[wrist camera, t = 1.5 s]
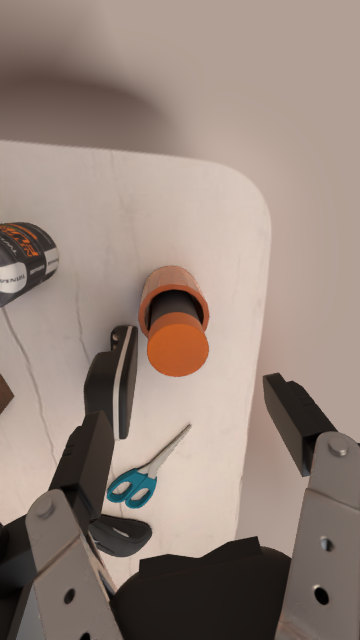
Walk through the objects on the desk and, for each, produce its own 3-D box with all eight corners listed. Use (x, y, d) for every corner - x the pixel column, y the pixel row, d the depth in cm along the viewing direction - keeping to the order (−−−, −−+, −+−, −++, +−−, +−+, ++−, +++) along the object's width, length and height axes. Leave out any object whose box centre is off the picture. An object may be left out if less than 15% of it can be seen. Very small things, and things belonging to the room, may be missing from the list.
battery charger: (105, 321, 29) (75, 385, 19) (138, 323, 30) (126, 386, 19) (107, 371, 32) (82, 450, 22) (137, 372, 33) (126, 450, 22)
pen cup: (136, 272, 27) (129, 293, 21) (192, 259, 27) (202, 276, 21) (151, 323, 30) (149, 354, 23) (202, 311, 30) (214, 340, 23)
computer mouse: (127, 556, 51) (124, 583, 47) (42, 537, 46) (31, 565, 42) (158, 524, 47) (158, 551, 43) (68, 499, 42) (60, 527, 39)
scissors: (102, 499, 41) (172, 419, 35) (104, 492, 42) (171, 413, 36) (138, 510, 43) (209, 436, 37) (139, 504, 44) (208, 431, 38)
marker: (148, 281, 27) (139, 331, 16) (186, 272, 27) (203, 317, 16) (157, 315, 29) (155, 382, 18) (193, 307, 29) (213, 369, 18)
